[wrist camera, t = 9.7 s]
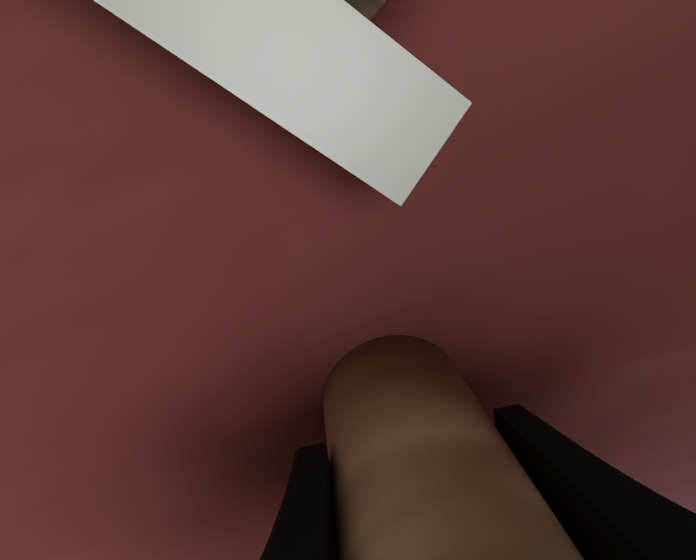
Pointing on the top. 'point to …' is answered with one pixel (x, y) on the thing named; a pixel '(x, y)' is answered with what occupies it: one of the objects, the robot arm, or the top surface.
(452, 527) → the oak dowel
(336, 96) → the backstop wall
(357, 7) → the socket block
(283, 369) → the top surface
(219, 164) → the top surface
